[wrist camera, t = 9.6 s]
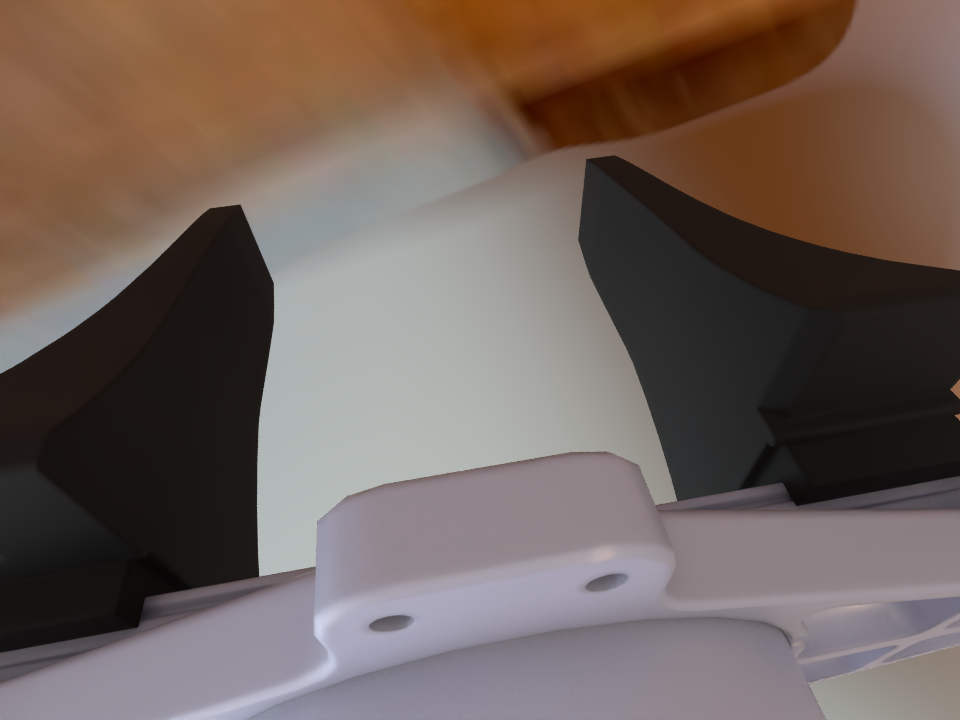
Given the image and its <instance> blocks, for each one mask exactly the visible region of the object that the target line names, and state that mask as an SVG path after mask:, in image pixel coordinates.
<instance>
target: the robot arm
mask: <svg viewBox="0 0 960 720" xmlns="http://www.w3.org/2000/svg"><path fill="white" fill-rule="evenodd" d="M578 240H579V243H580V246H581V250H582V253H583V257H584V260H585V263H586V266H587V268H588V272H589V275H590V277H591V279H592V281H593V283H594V285H595V287H596V289H597V291H598V293H599V295H600V297H601V299H602V301H603V303H604V305H605V307H606V309H607V311H608V313H609V315H610V317H611V319H612V321H613V323H614V325H615V327H616V329H617V331H618V333H619V335H620V337H621V338H622V341H623V343H624V345H625V346H626V349H627V351H628V353H629V355H630V357H631V359H632V362H633V364H634V367H635V370H636V372H637V375H638V378H639V381H640V383H641V386H642V389H643V391H644V394H645V397H646V400H647V403H648V406H649V409H650V411H651V415H652V418H653V421H654V423H655V427H656V430H657V433H658V435H659V439H660V442H661V446H662V449H663V452H664V456H665V459H666V462H667V466H668V469H669V472H670V475H671V478H672V483H673V486H674V490H675V494H676V497H677V501H676V502H671V503H665V504H659V505H655V504H654V501H653V499H652V496H651V494H650V492H649V489H648V487H647V484H646V482H645V480H644V477H643V475H642V473H641V470H640V468H639V465H637V464H635V463H632V462H630V461H628V460H626V459H624V458H621V457H619V456H617V455H615V454H612V453H608V452H571V453H564V454H558V455H552V456H546V457H540V458H535V459H529V460H523V461H517V462H511V463H506V464H500V465H494V466H488V467H482V468H476V469H470V470H465V471H459V472H453V473H447V474H441V475H435V476H430V477H424V478H418V479H412V480H406V481H400V482H394V483H389V484H383V485H380V486H377V487H374V488H371V489H368V490H365V491H362V492H359V493H355V494H352V495H349V496H347V497H346V498H344V499H343V500H342V501H341V502H340V503H338V504H337V505H336V506H335V507H334V508H333V509H331V510H330V511H329V512H328V513H327V514H326V515H324V516H323V517H322V518H321V519H320V520H318V522H317V548H316V567H311V568H305V569H300V570H295V571H289V572H283V573H277V574H272V575H266V576H261V577H259V564H258V537H257V536H258V535H257V456H258V455H257V454H258V427H259V416H260V407H261V401H262V395H263V388H264V382H265V376H266V370H267V364H268V358H269V351H270V344H271V338H272V331H273V324H274V283H273V280H272V278H271V276H270V273H269V271H268V269H267V266H266V264H265V262H264V259H263V257H262V254H261V252H260V250H259V247H258V245H257V243H256V240H255V238H254V236H253V233H252V231H251V228H250V226H249V224H248V221H247V219H246V217H245V214H244V212H243V210H242V207H241V205H233V206H225V207H218V208H210V209H209V210H207V211H206V212H205V213H203V214H202V215H201V216H200V217H199V218H198V219H197V220H196V221H195V222H194V223H193V224H192V225H191V226H190V227H189V228H188V229H187V230H186V231H185V232H184V233H183V234H182V235H181V236H180V237H179V238H178V239H177V240H176V241H175V242H174V243H173V244H172V245H171V246H170V247H169V248H168V249H167V250H166V251H165V252H164V253H163V254H162V255H161V256H160V257H159V258H158V259H157V260H156V261H155V262H154V263H153V264H152V265H151V266H150V267H148V268H147V269H146V270H145V271H144V272H143V273H142V274H141V275H140V276H138V277H137V278H136V279H135V280H134V281H133V282H132V283H131V284H130V285H128V286H127V287H126V288H125V289H124V290H123V291H122V292H121V293H120V294H118V295H117V296H116V297H115V298H114V299H112V300H111V301H110V302H109V303H108V304H106V305H105V306H104V307H102V308H101V309H100V310H99V311H97V312H96V313H95V314H93V315H92V316H91V317H89V318H88V319H86V320H85V321H84V322H82V323H81V324H80V325H78V326H77V327H76V328H74V329H73V330H71V331H70V332H68V333H67V334H65V335H64V336H62V337H61V338H59V339H57V340H56V341H54V342H53V343H51V344H49V345H48V346H46V347H45V348H43V349H42V350H40V351H38V352H37V353H35V354H34V355H32V356H30V357H29V358H27V359H26V360H24V361H22V362H21V363H19V364H17V365H16V366H14V367H12V368H10V369H9V370H7V371H5V372H3V373H1V374H0V720H826V718H825V716H824V714H823V712H822V710H821V708H820V706H819V704H818V702H817V700H816V698H815V696H814V694H813V692H812V690H811V688H810V686H809V684H812V683H816V682H820V681H824V680H828V679H832V678H836V677H839V676H843V675H847V674H851V673H855V672H858V671H862V670H866V669H870V668H874V667H878V666H882V665H885V664H889V663H893V662H897V661H901V660H904V659H908V658H912V657H916V656H920V655H924V654H928V653H932V652H936V651H939V650H944V649H948V648H952V647H956V646H959V645H960V421H959V419H958V418H957V417H956V416H955V415H957V414H960V399H959V398H958V397H957V396H956V395H955V394H954V393H953V392H952V391H951V390H950V389H951V388H952V387H953V386H954V385H955V384H956V383H957V381H958V380H959V379H960V271H959V270H952V269H944V268H937V267H930V266H923V265H915V264H908V263H901V262H893V261H888V260H882V259H877V258H872V257H867V256H862V255H857V254H852V253H847V252H843V251H839V250H835V249H830V248H826V247H822V246H818V245H814V244H811V243H808V242H804V241H801V240H797V239H794V238H790V237H787V236H784V235H781V234H778V233H774V232H772V231H769V230H766V229H764V228H761V227H758V226H756V225H753V224H750V223H748V222H745V221H742V220H740V219H737V218H735V217H732V216H730V215H728V214H726V213H723V212H721V211H719V210H717V209H715V208H713V207H711V206H708V205H707V204H705V203H703V202H700V201H698V200H696V199H694V198H693V197H691V196H689V195H687V194H685V193H683V192H681V191H679V190H678V189H676V188H674V187H672V186H670V185H669V184H667V183H665V182H663V181H661V180H660V179H658V178H656V177H654V176H653V175H651V174H649V173H648V172H645V171H644V170H642V169H640V168H639V167H637V166H635V165H633V164H631V163H629V162H628V161H626V160H624V159H621V158H619V157H617V156H606V157H599V158H591V159H587V160H586V168H585V179H584V190H583V199H582V209H581V219H580V228H579V239H578Z"/></svg>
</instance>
